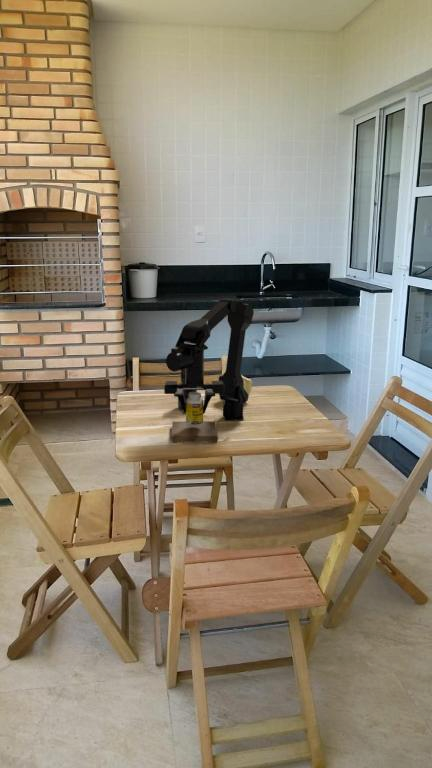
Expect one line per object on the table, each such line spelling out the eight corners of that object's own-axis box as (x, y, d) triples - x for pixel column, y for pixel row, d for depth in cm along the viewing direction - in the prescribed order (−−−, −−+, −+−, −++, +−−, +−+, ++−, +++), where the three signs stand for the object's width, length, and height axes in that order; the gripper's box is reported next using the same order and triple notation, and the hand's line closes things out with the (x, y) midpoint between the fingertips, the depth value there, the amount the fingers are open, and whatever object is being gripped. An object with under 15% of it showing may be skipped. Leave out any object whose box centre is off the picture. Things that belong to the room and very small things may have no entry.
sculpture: (255, 400, 225) (256, 373, 222) (239, 408, 215) (240, 379, 213) (229, 395, 231) (230, 369, 228) (213, 403, 221) (213, 375, 219)
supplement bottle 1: (174, 409, 213) (174, 377, 210) (182, 404, 219) (182, 373, 216) (192, 412, 210) (192, 379, 207) (199, 406, 216) (199, 375, 213)
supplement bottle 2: (191, 428, 183) (191, 396, 180) (182, 423, 188) (182, 392, 185) (206, 425, 186) (206, 393, 183) (197, 420, 191) (197, 389, 188)
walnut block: (214, 426, 195) (215, 421, 194) (217, 441, 181) (217, 435, 181) (172, 427, 194) (172, 421, 194) (171, 442, 181) (171, 436, 180)
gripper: (222, 359, 190) (222, 405, 194) (165, 359, 189) (165, 406, 193) (225, 367, 179) (224, 416, 184) (163, 367, 178) (164, 416, 182)
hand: (194, 413), depth 186 cm, fingers closed on supplement bottle 2, 5 cm apart
